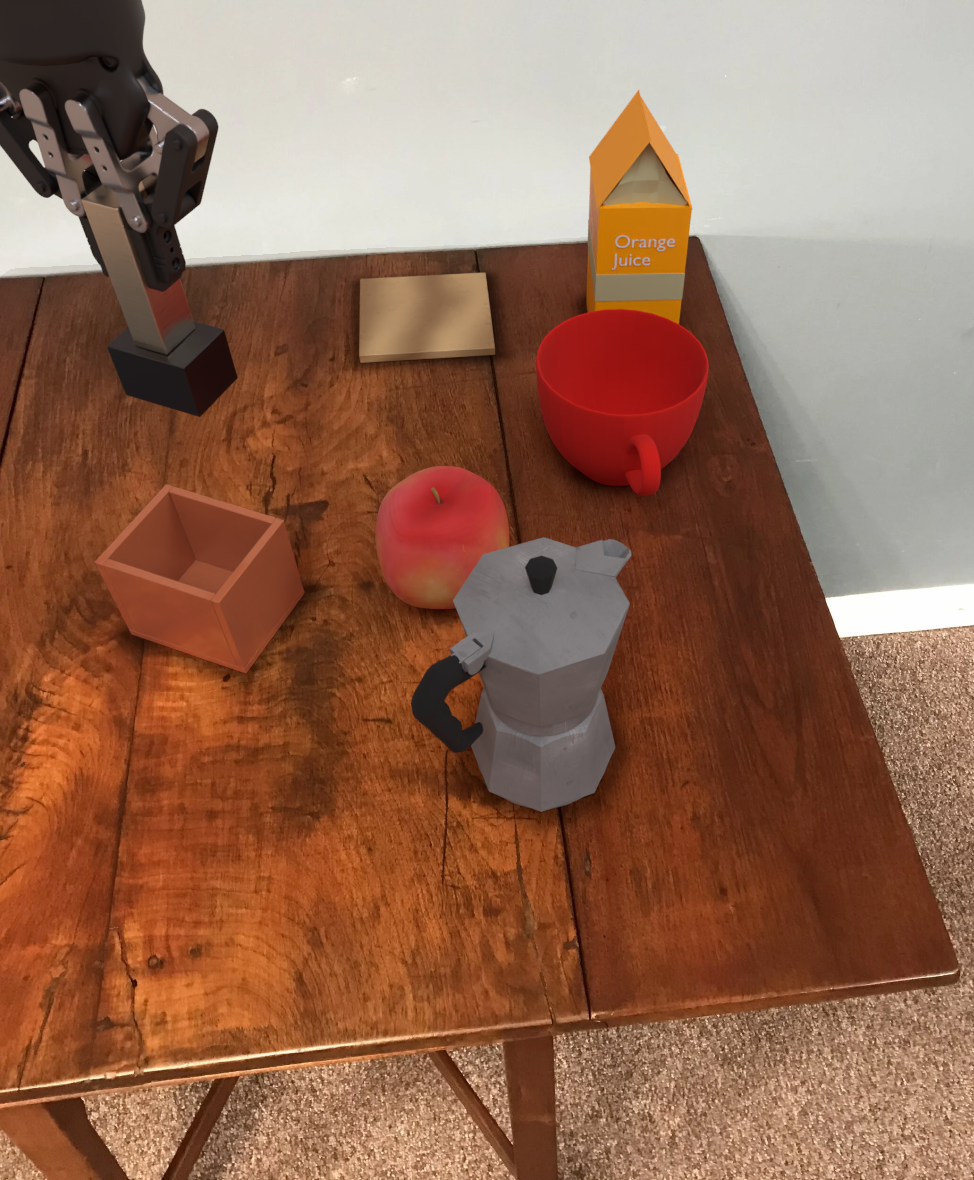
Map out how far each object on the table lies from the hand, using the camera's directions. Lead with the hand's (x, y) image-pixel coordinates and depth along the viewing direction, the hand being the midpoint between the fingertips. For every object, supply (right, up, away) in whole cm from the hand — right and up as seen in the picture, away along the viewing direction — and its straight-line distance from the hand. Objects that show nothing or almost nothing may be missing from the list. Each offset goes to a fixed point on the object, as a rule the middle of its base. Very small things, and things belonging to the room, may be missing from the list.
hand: (144, 275), depth 56 cm
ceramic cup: (+27, -8, +27) cm, 39 cm away
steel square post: (0, -5, +6) cm, 8 cm away
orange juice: (+28, +7, +40) cm, 49 cm away
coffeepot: (+21, -28, +10) cm, 36 cm away
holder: (-2, -19, +16) cm, 25 cm away
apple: (+14, -17, +19) cm, 29 cm away
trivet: (+9, +8, +39) cm, 41 cm away
